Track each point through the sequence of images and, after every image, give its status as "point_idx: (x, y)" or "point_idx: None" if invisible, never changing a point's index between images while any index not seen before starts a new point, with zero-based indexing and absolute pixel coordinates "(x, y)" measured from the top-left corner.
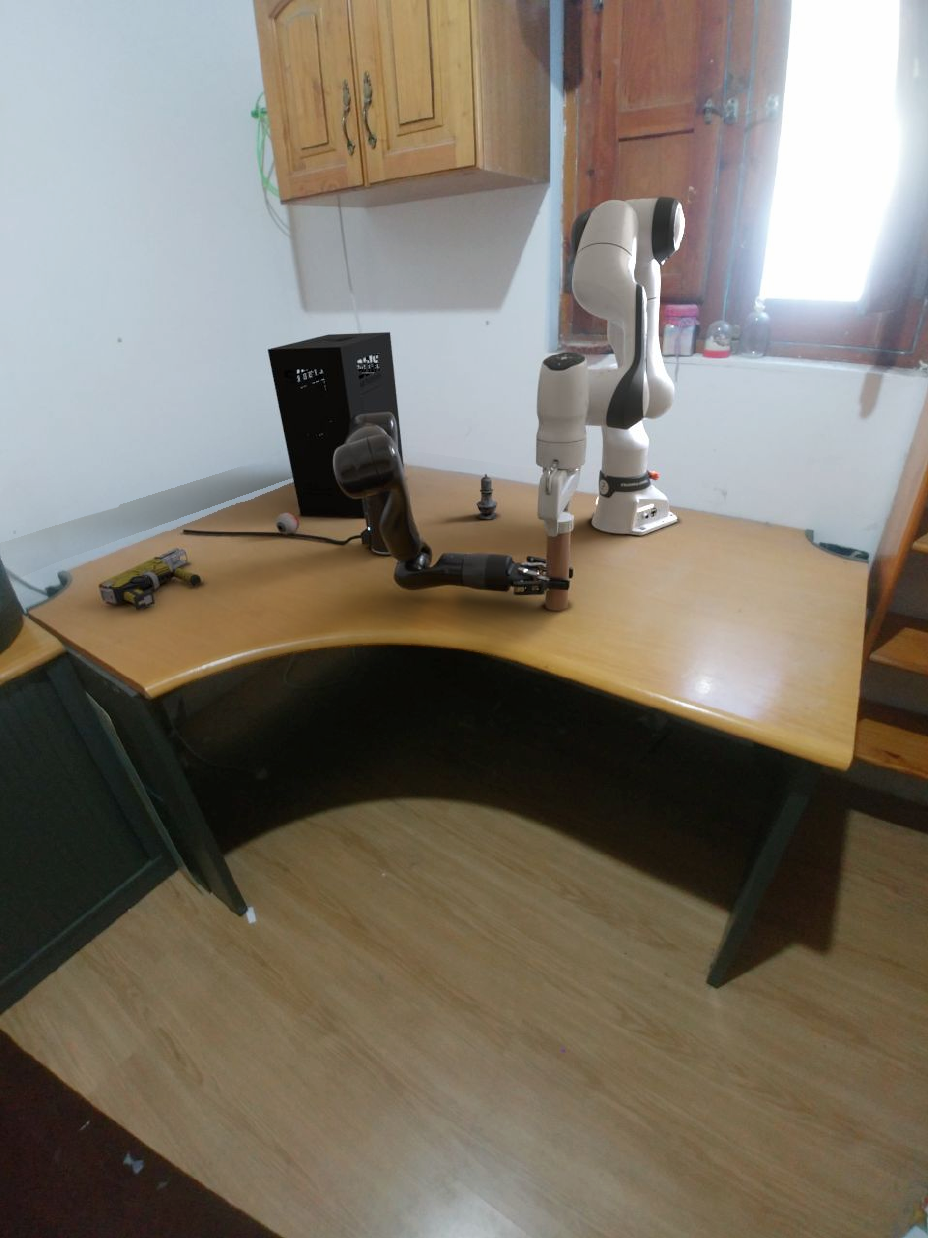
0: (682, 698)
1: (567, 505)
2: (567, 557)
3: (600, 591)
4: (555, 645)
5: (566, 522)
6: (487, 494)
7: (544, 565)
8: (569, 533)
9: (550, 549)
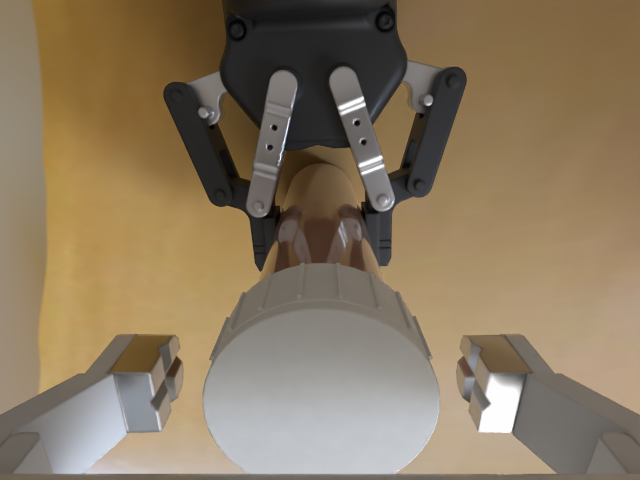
0: None
1: (544, 450)
2: None
3: (430, 294)
4: (114, 236)
5: (241, 459)
6: None
7: (373, 171)
8: None
9: (266, 260)
